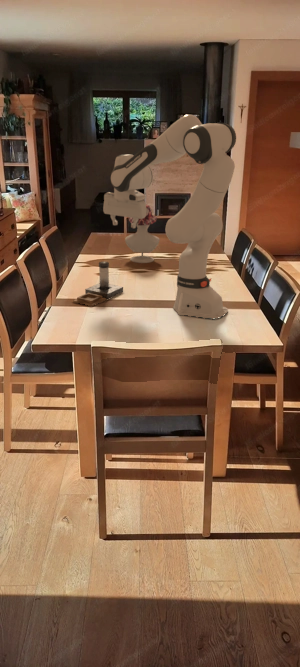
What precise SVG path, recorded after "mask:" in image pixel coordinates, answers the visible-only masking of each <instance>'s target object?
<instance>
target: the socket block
mask: <svg viewBox="0 0 300 667" xmlns="http://www.w3.org/2000/svg"><path fill="white" fill-rule="evenodd" d="M84 290H85V293H84V294H86V293H91V294H96V295H100V296H102V298H106V300H107V299H108V300H110V299H112V298H114V297H116V296H118V295H120V294H123V293H124V287H123V286H121V285H116V284H110V283H109V289H108V290H101V289H100V282H98V283H97V284H94V285H92V286H89V287H87V288H85V289H84ZM111 297H112V298H111ZM109 298H110V299H109Z"/></svg>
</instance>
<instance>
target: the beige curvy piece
mask: <svg viewBox="0 0 300 667" xmlns="http://www.w3.org/2000/svg"><path fill="white" fill-rule="evenodd" d="M157 219H158V217H157V216H155V215H153V209H152V207H151V206H150V205H149V204H147V203H146V217H145V218H143V219H138V222H137V223H136V228H137V229H136V232H135V233H132V234H129V235H127V236H126V237H125V239H124V242H125V245H127V247H128V248H129V249H130V250H131V251H132V253H140V254H141V255H137V256H132V257H130V258H129V259H130V261H131V262H133V263H138V264H148V263H149V264H150V263H152V262H154V261H155V258H154V257H152V256H148V255H144V253H145V254H150V253H152V252H153V251H154V250H155V249H156V248H157V247H158V245H159V243H160V241H161V239H160V237H158V236H156V235H153V234H151V233H150V232H148V229H149V227H150V225H153V224H154V223H156V222H157ZM128 221H129V223H130V224H132V223H133V222H134V220H133V218H131V217H128Z"/></svg>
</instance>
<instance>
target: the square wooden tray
mask: <svg viewBox="0 0 300 667" xmlns="http://www.w3.org/2000/svg"><path fill="white" fill-rule="evenodd" d="M102 301H103V302H105V301H107V299H106V298H102V296H100V295H96V294H91V293H86V294H85V293H84V294H82V295H80V296H78V297H77V298H75V299H74V300H72V303H74V304H78V303H81V304H80V305H82V304H85V305H84V306H87V305H88V306H87V307H91V306H93V307H94V305H95V304H97V303H99V304H101V303H103V302H102ZM100 302H101V303H100ZM97 305H98V304H97ZM95 306H96V305H95Z"/></svg>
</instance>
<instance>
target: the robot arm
mask: <svg viewBox="0 0 300 667" xmlns="http://www.w3.org/2000/svg"><path fill="white" fill-rule="evenodd" d="M236 142H237V133H236V131H235V129H234V128H233V127H232V126H231V125H230V124H227V123H224V122H217V123H216V122H215V123H210V122H208V123H204V124H203V123H202V122H201V121H200V119H199V118H198V117H197V116H196V115H193V114H185V115H183V116H182V117H180V118H179V119H177V120H176V121H174V122H173V123H172V124H170V126H169V127H168V128H167V129H165V131H163V132H162V133H161V134H160V135H159V136H158V137H156V139H154V140H153V141H151V142H150V143H149V144H147V145H145V146H144V147H143V148H142V149H140V150H139V151H138V152H137V153H135V154H134V155H133V154H127V153H126V154H119V155H117V156H116V157H115V161H114V166H113V170H112V171H111V172H110V179H109V180H110V183H111V185H112V187H113V192H110V191H108V192H106V193H104V195H103V200H104V201H103V207H102V208H103V210H102V212H103V214H105V215H110V219H111V221H112V226H118V224H119V222H118V221H119V220H117V219H116V216H117V217H125V218H129V217H131V218H133V220H134V222H133V223H130V228H132V229H136V228H137V226H136V223H137V222H138V219H143V218H145V217H146V204H147V202H145V200H146V194H144V193H142V192H140V191H139V190H142V189H143V190H144V189H146V188H149V187H150V186H151V184H152V182H153V172H152V169H151V168H150V167H151V166H155V165H157V164H158V165H159V164H165V163H171V162H172V163H173V162H174V161H176V160H179V159H181V158H182V157H183V156H185V155H186V154H187V155H188V156H189V157H190V158H192V159H193V160H194V161H195V163H196V164H199V165H203V168H202V171H201V173H200V176H199V178H198V181H197V183H196V185H195V188H194V190H193V192H192V194H191V196H190V197H189V199H188V200H187V202H186V203H185V204H184V205H183V207H182V208H181V209H180V210H179V211H178V212H177V213H176V214H175V215H173V216H172V217H170V218H169V219H168V220H167V222H166V223H165V224H166V225H165V229H164V230H165V235H166V237H167V239H168V241H170V242H171V243H173V244H179V245H180V244H182V245H184V244H187V245H186V247H185V249H184V250H183V251H182V252H181V253H180V255H179V259H178V274H177V275H176V276H177V278H176V286H177V290H176V295H175V301H174V304H173V307H172V309H173V310H174V311H176V312H177V315H179V316H184V315H188V316H187V317H191V316H196V317H195V318H198V317H203V318H202V319H205V318H212V319H213V318H218V317H221V316H223V315H224V314H226V313H227V312H228V313H229V309H228V307H226V306H224V305H223V304H224V302H223V298H222V296H221V294H219V293H218V292H217V291H216V290H215V289H214V288H213V287H212V286H211V285H210V283H211V282H212V279H213V278H211V277H210V278H209V277H207V265H208V258H209V254H210V251H211V248H212V246H213V244H214V242H215V240H216V239H217V237H219V235H220V234H221V233H222V232H223V229H224V225H223V224H224V223H223V219H222V217H221V215H219V213H217V211H218V210H219V209H220V207H221V204H222V203H223V202H224V198H225V196H226V194H227V192H228V190H229V187H230V184H231V182H232V179H233V175H234V172H235V167H236V166H235V161H234V159H233V158H232V157H231V156H229V155H228V154H227V153H229V152H230V151H232V149H233V148H234V147H235V146H236V144H237V143H236ZM228 313H227V314H228ZM227 314H226V315H227ZM223 317H224V316H223ZM212 319H211V320H212Z"/></svg>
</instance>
